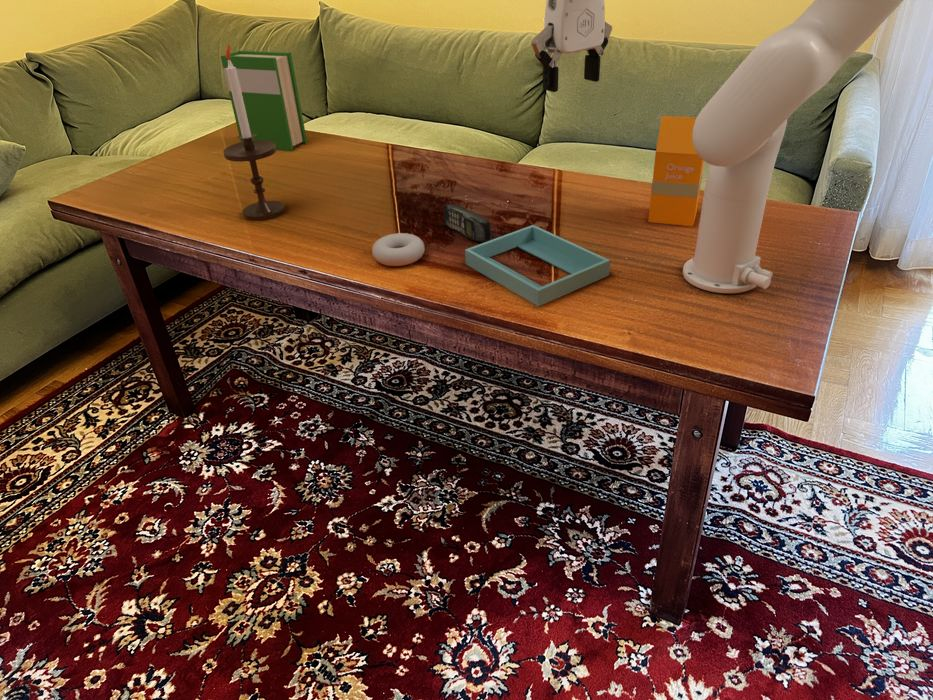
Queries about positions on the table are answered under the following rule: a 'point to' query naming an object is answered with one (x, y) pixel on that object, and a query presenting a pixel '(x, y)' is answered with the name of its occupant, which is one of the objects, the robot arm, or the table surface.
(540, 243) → the rectangular frame
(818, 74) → the robot arm
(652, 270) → the table surface
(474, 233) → the mobile phone
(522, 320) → the table surface
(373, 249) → the donut
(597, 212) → the table surface
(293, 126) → the hardback book
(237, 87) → the candlestick
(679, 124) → the orange juice
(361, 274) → the table surface
